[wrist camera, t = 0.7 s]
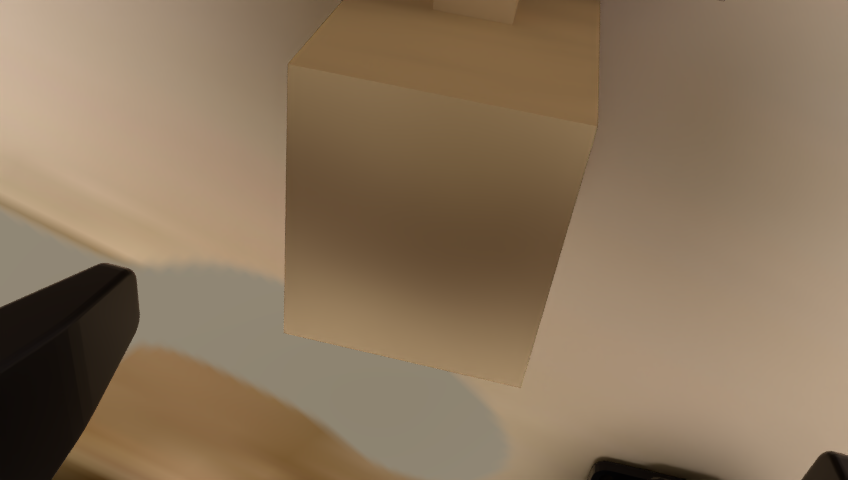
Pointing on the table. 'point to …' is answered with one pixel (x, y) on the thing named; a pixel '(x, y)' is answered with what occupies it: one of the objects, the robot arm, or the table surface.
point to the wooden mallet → (436, 175)
